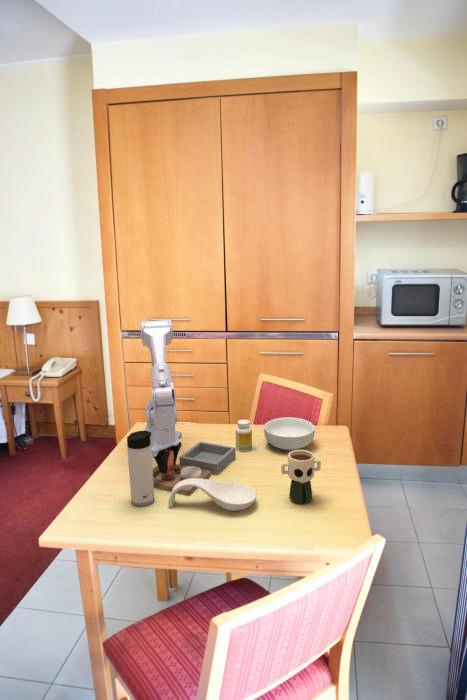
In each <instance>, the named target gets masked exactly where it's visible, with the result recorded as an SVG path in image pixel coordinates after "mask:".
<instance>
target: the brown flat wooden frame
mask: <svg viewBox="0 0 467 700" xmlns="http://www.w3.org/2000/svg"><path fill="white" fill-rule="evenodd" d="M174 470H175V474H180V475H179V476H178V477H177V478H175V479H174V480H172V481H165V480H162V479H159V478H156V477H157V476H159V475H161V473H160V471H159V468H158V465H157V464H156V465H155V467H153V483H154V489H157V490H158V489H159V490H162V491H167V492H170V493H171V492H172V489H173V487H174V486H175V485H176V484H177V483H179V482H180V481H183V480H185V479H191V478H199V479H208V480H209V478H210V477H211V476H212V474H211V471H208V470H203V469H200V468H199V467H196V466H183V465H180V464H178V463H176V465H175V467H174ZM197 489H198V488H197V487H193V486H189V487H185V488H182V489H180V490H179V491H178V492H177V493H176V494H180V495H183V496H184V495H185V496H190V495H191V494H193V492H195V491H196V490H197Z"/></svg>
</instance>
